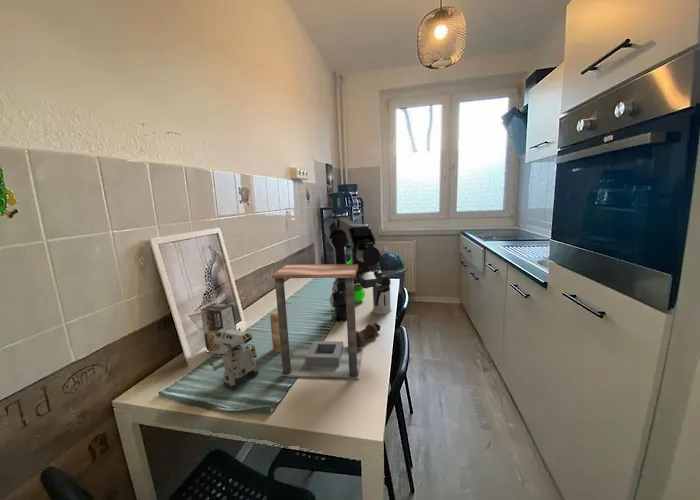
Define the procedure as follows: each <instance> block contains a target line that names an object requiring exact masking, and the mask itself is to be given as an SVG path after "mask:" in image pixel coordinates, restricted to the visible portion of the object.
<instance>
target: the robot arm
mask: <svg viewBox="0 0 700 500" xmlns="http://www.w3.org/2000/svg"><path fill="white" fill-rule="evenodd" d="M326 236H327V239H328V242H329V244H330V246H331V247H332V248H333V251H332V252H333V262H334V263H333V264H346V254H345V253H346V252H345V248H346V246H347V244H348V243H349V245H350V246H349V247H350V252H351V254H352V264H358V265H359V267H358V270H357V272H356V275H355V277H354V286H362V288H363V289H368V288H372V294H373V293H374V303H375V306H377V304H378V301H379V297H380V294H381V292H382V290H383V289H384V288H386V287H387V286H386V285H390V286H391V278H390V277H389V276H388V275H386V274H383V273H382V271H381V270H374V271H373V270H372V267H373V266H376V265H377V264H379V262H380V260H381V253H380V251H379V249H378V248H377V247H375V246H374V245H376V238H375V235H374V234H373V231H372V229H371V227H370V226H369V225H368V223H357V222H355V221H353V220H351V219H350V218H349V217H347V216H341V217H336V218H335V219H334V221H333V222H332V223H330V225H328V228H327V232H326ZM329 303H330V306H331V307H332V308H333V309H334V314H333V315H331V317H332V318H333V319H334V320H335V321H336V322H342V321H347V311H346V288H345V278H334V281H333V283H332V288H331V294H330V297H329Z"/></svg>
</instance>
